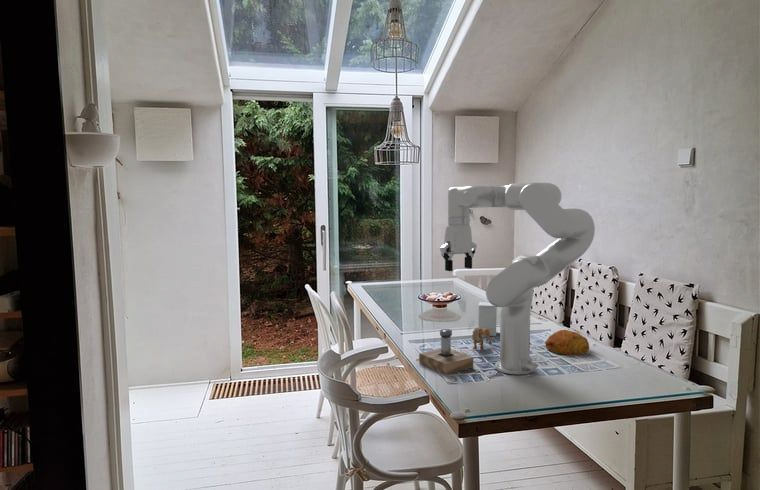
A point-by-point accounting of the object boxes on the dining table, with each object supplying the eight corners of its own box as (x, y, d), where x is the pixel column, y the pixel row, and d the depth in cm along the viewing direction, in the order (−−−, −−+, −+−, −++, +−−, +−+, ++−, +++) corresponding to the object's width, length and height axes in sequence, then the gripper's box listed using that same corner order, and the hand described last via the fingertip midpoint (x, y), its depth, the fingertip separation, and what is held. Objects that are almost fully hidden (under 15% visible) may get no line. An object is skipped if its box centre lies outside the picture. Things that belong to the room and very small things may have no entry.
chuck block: (473, 367, 172) (473, 356, 172) (446, 374, 166) (446, 363, 165) (445, 356, 184) (445, 346, 184) (419, 363, 177) (419, 352, 177)
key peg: (454, 365, 174) (454, 330, 173) (445, 367, 172) (445, 332, 171) (446, 362, 178) (446, 328, 176) (437, 364, 175) (437, 330, 174)
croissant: (567, 347, 200) (566, 327, 200) (597, 353, 185) (596, 331, 186) (536, 351, 195) (535, 330, 195) (564, 357, 180) (563, 334, 181)
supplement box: (496, 336, 209) (496, 305, 208) (477, 335, 211) (478, 305, 209) (496, 331, 216) (496, 302, 215) (478, 330, 218) (478, 301, 217)
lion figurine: (484, 353, 187) (484, 329, 186) (469, 352, 189) (470, 328, 188) (493, 342, 200) (493, 320, 199) (479, 341, 202) (479, 319, 201)
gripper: (468, 220, 190) (468, 266, 192) (433, 222, 180) (433, 270, 182) (483, 221, 184) (483, 268, 186) (448, 223, 174) (448, 273, 176)
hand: (458, 269), depth 184 cm, fingers open, 9 cm apart
